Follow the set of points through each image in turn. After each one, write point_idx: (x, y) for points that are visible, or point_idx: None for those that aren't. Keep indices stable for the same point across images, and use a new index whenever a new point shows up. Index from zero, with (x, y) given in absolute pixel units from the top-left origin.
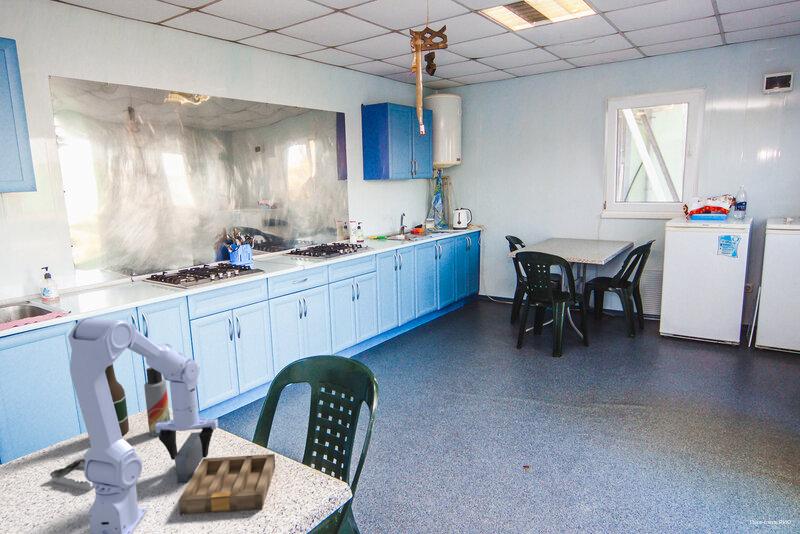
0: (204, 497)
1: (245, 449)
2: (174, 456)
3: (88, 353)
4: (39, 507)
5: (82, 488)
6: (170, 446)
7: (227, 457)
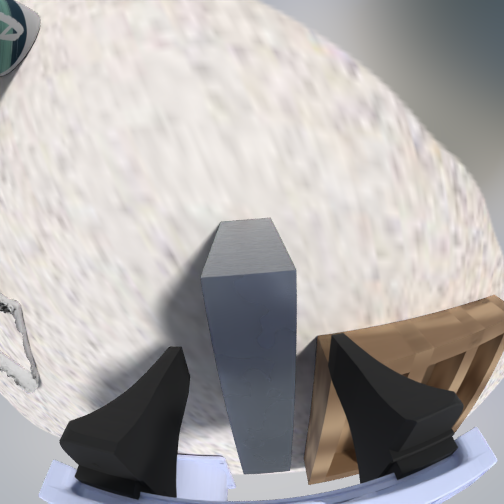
0: None
1: (435, 170)
2: (186, 380)
3: None
4: (21, 398)
5: (22, 368)
6: (176, 445)
7: (422, 354)
